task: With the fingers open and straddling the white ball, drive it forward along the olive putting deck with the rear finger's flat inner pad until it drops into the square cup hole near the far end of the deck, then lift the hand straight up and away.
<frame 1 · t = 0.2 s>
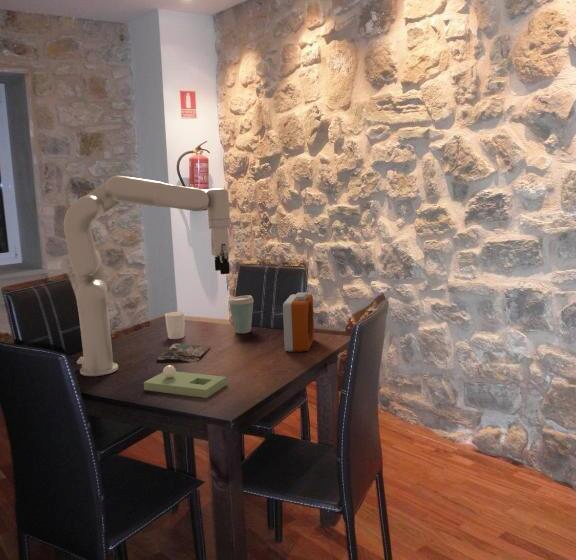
hand: (222, 272, 209), 31 cm above the table, tool pointing down, fingers open, 9 cm apart
deck: (185, 387, 182), on the table
terrain model: (185, 356, 218), on the table
white cup: (176, 337, 243), on the table
orange and grey box: (300, 346, 223), on the table
ball: (169, 371, 183), point 4 cm above the table, touching deck
disposable coffee cup: (242, 332, 248), on the table
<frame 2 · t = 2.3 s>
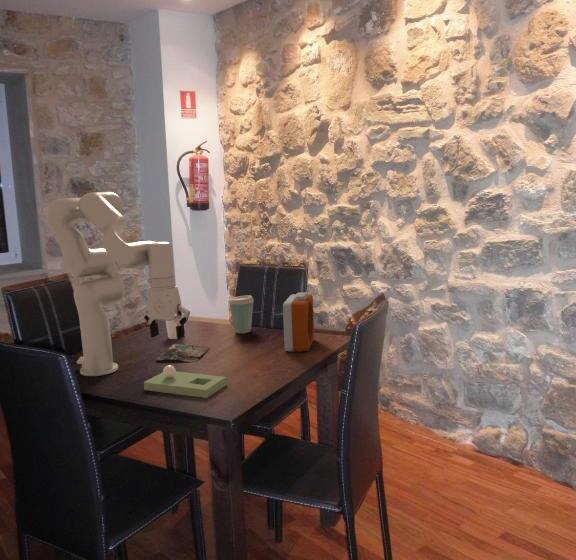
hand: (167, 337, 181), 16 cm above the table, tool pointing down, fingers open, 9 cm apart
nothing on the table moved.
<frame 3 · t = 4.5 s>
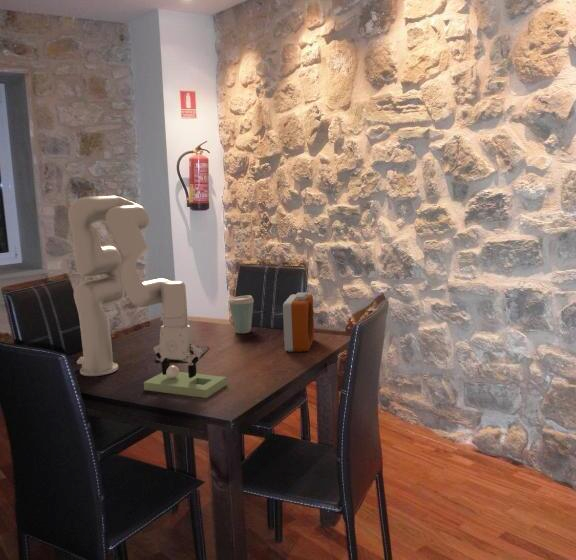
hand: (179, 375, 182), 4 cm above the table, tool pointing down, fingers open, 9 cm apart
ball: (172, 372, 183), point 4 cm above the table, tilted 31°, touching deck, gripper
everything else where it was.
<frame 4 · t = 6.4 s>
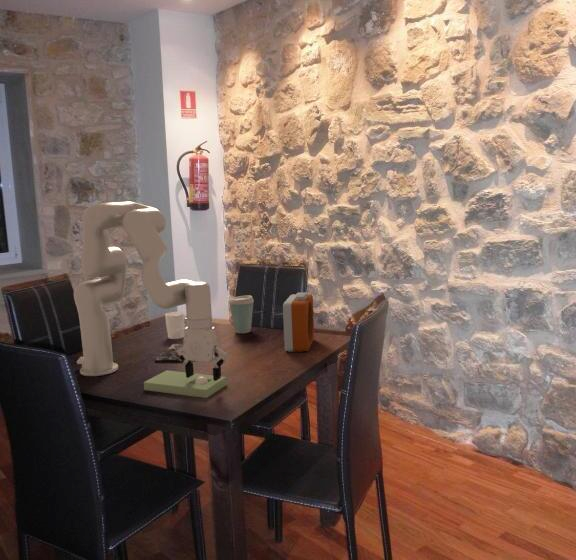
hand: (203, 377, 178), 4 cm above the table, tool pointing down, fingers open, 9 cm apart
ball: (201, 383, 179), point 2 cm above the table, tilted 34°
everything else where it was.
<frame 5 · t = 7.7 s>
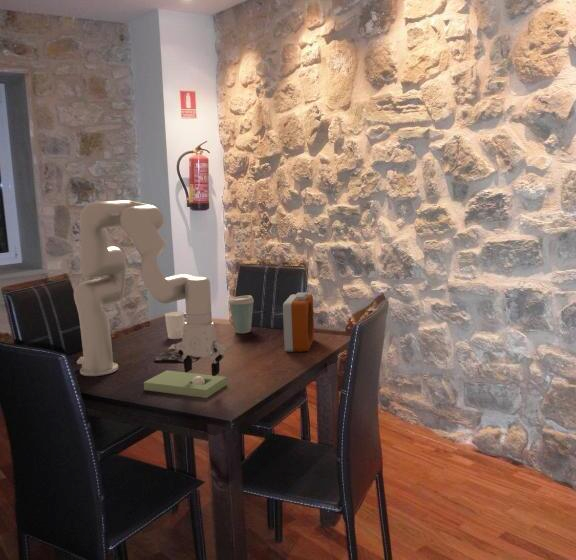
hand: (201, 372, 179), 5 cm above the table, tool pointing down, fingers open, 9 cm apart
ball: (198, 382, 180), point 2 cm above the table, tilted 66°
everything else where it was.
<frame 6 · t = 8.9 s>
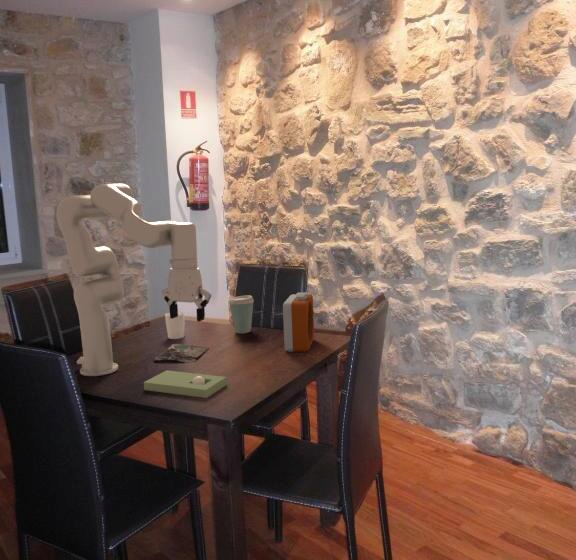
hand: (187, 319, 179), 21 cm above the table, tool pointing down, fingers open, 9 cm apart
nothing on the table moved.
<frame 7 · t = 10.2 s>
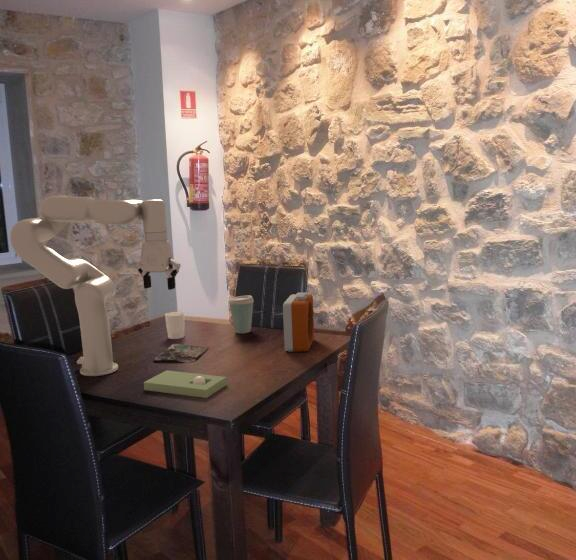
hand: (159, 288, 196), 28 cm above the table, tool pointing down, fingers open, 9 cm apart
nothing on the table moved.
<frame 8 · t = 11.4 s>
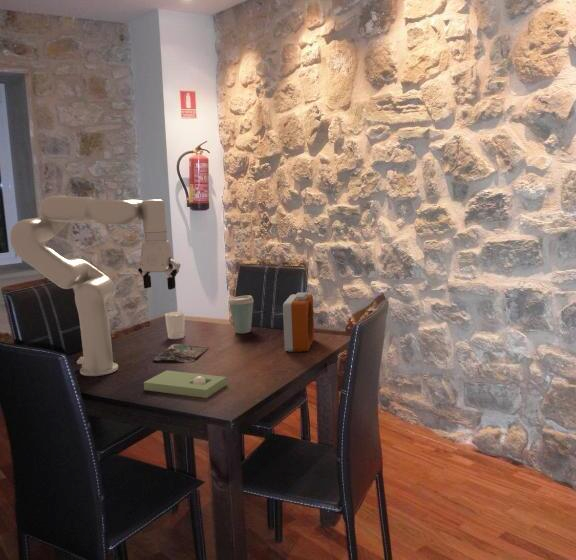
hand: (159, 288, 196), 28 cm above the table, tool pointing down, fingers open, 9 cm apart
nothing on the table moved.
at the end: ball 0.4 cm from the target spot in the deck, point 2.0 cm above the deck's base; ball touching table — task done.
